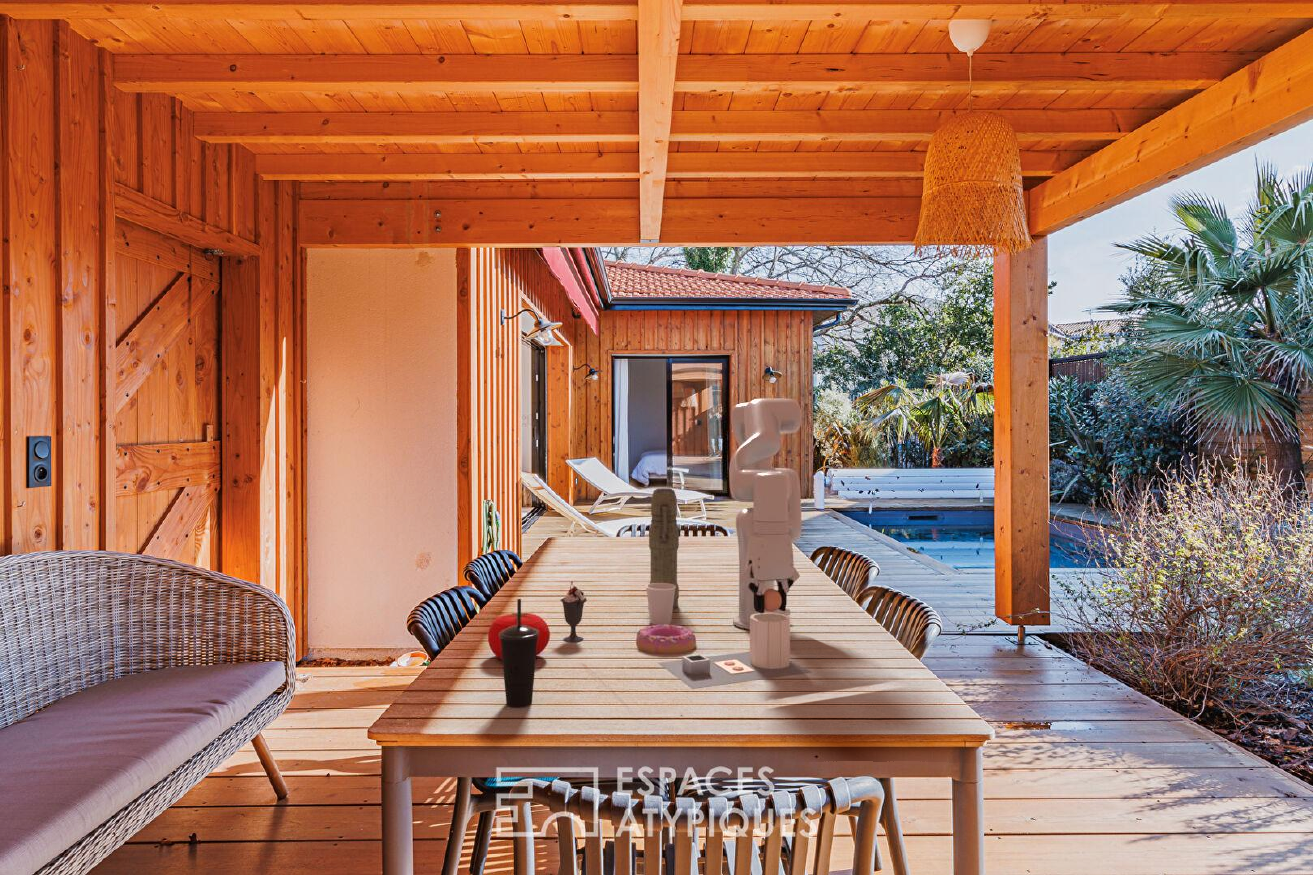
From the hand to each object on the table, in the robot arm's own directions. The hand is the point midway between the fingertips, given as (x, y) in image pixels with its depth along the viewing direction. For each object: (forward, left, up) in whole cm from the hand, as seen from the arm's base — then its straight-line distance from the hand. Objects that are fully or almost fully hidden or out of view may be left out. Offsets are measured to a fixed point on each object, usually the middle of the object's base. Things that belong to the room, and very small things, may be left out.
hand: (770, 609), depth 169 cm
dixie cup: (+7, -46, -13) cm, 48 cm away
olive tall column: (-1, -63, -13) cm, 64 cm away
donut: (+16, -21, -13) cm, 30 cm away
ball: (0, 0, +2) cm, 2 cm away
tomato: (+50, -28, -13) cm, 59 cm away
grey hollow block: (+18, 0, -12) cm, 21 cm away
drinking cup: (+56, +1, -13) cm, 57 cm away
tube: (0, 0, -12) cm, 12 cm away
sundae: (+34, -38, -13) cm, 53 cm away
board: (+9, 0, -13) cm, 16 cm away
